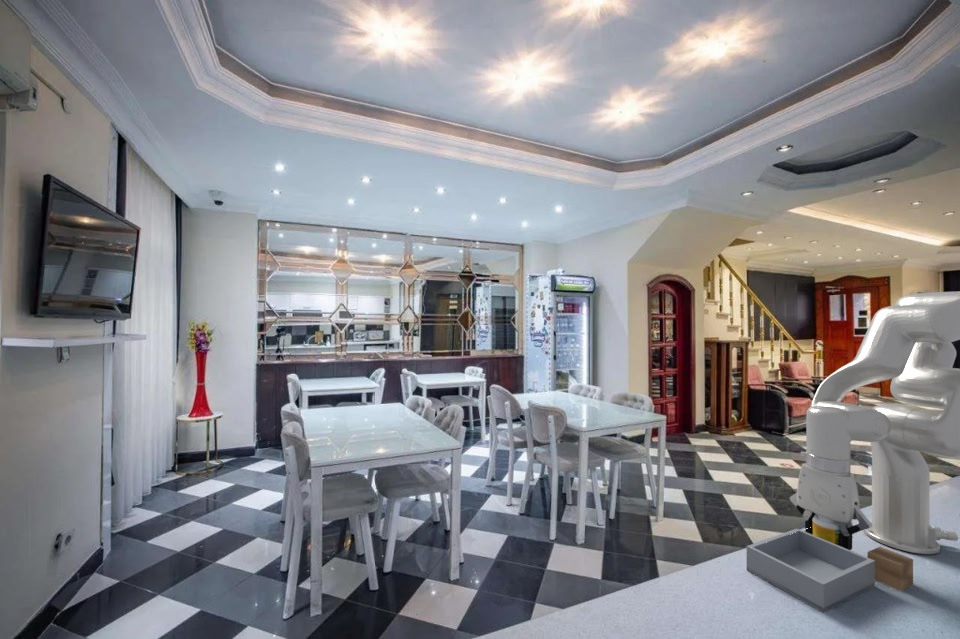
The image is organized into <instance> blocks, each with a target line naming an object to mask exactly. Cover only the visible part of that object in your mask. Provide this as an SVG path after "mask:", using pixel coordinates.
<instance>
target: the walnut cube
mask: <svg viewBox="0 0 960 639" xmlns="http://www.w3.org/2000/svg"><path fill="white" fill-rule="evenodd" d="M866 552H867V556H866V557H867V558H870V559H872V560H875V581H877V582H879V583H881V582H882V583H881V584H883V583H884V585H885V586H888V587H890V588H893V589H895V590H898V591H899V592H902V591H904V590H905V589H908V588H909V587H911V586H913V585H914V559H913V558H911V557H908V556H906V555H903V554H900V553H898V552H895V551H893V550H890V549H888V548H885V547H882V546H877V547H876V548H874V549H872V550H868V551H866Z"/></svg>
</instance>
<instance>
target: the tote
mask: <svg viewBox="0 0 960 639" xmlns="http://www.w3.org/2000/svg"><path fill="white" fill-rule="evenodd" d="M795 532H796V533H795ZM792 533H793V534H792ZM790 534H791V535H790ZM766 542H767V543H766ZM751 547H752V548H751ZM746 571H747V572H749V573H751V574H753V575H754V576H755V577H758V578H760V579H761V580H763V581H766V582H767V583H769V584H771V585H772V586H774V587H776V588H778V589H780V590H781V591H783V592H785V593H787V594H788V595H790V596H793V597H794V598H796V599H798V600H799V601H801V602H803V603H805V604H806V605H809V606H810V607H812V608H814V609H815V610H818V611H819V612H821V613H823V614H824V613H826V612H827V611H829V610H832V609H834V608H836V607H837V606H839V605H841V604H843V603H845V602H847V601H849V600H851V599H853V598H855V597H857V596H859V595H861V594H862V593H864V592H867V591H868V590H871V589H872V588H874V587H876V580H875V560H872V559H870V558H867V556H864V555H862V554H860V553H858V552H855V551H853V550H848V549H846V548H843V547H841V546H838V545H836V544H834V543H831V542H829V541H826V540H824V539H822V538H819V537H817V536H814V535H812V534H809V533H807V532H805V530H802V529H799V528H795V529H791V530H789V531H786V532H783V533H781V534H780V533H779V534H777V535H774V536H772V537H771V536H770V537H769V538H765V539H763V540H760V541H757V542H755V543H751V544H749V545H746Z"/></svg>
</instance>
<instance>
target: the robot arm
mask: <svg viewBox="0 0 960 639" xmlns="http://www.w3.org/2000/svg"><path fill="white" fill-rule="evenodd" d="M862 339H863V340H862V341H861V344H860V346H859V348H858V350H857V353H856V356H855V357H854V358H853V359H852V360H851V361H850V362H848V363H846V364H845V365H843V366H841V367H839V368H838V369H837V370H835V371H834V372H832V373H831V374H830V375H828V376H827V377H826V378H825V379H824V380H822V381H821V383H820V384H819V386H818V387H817V389H816V392H815V394H814V396H813V397H812V401H811V403H810V407H809V408H807V410H806V418H805V421H806V423H805V424H806V431H805V433H806V435H805V436H806V438H805V439H806V447H805V449H806V451H803V450H802V451H800V454H799V455H800V457H801V458H804V459H805V462H804V463H802V464H801V467H800V469H799V474H798V475H799V476H798V482H797V489H796V490H797V491H796V492H795V493H793V494H792V495H791V496H789V500H790V502H791V503H792V505H794V506H795V507H796V509H797V511H798V512H799V513H800V514H801V518H802V519H803V520H804V531H805V532H807V533H809V534H812V535H813V522H812V520H813V517H814V516H815V515H817V514H818V515H821V516H824V517H826V518H829V519H832V520H835V521H838V523H839V526H840V529H841V534H839V546H841V547H843V548H846V549H848V550H851V551H853V535H854V534H857V533H858V532H861V531H863V533H864V534H865V535H866V536H868V537H869V538H871V539H872V540H874V541H876V542H878V543H880V544H882V545H885V546H888V547H890V548H894V549H896V550H900V551H904V552H908V553H914V554H918V555H936V554H938V553H940V551H941V546H940V543H939V542H938V541H941V540H945V541H953V542H957V541H959V536H958V534H957V532H955V531H951V530H950V531H949V530H942V529H941V527H939V526H934V525H933V526H932V525H931V524H930V523H931V522H930V521H931V518H930V516H931V515H930V513H931V512H930V505H931V504H930V503H931V502H930V501H931V499H930V493H931V492H930V490H931V489H930V488H931V487H930V484H931V483H930V481H931V477H930V476H931V472H930V468H929V466H928V463H927V461H926V460H925V458H924V457H923V455H922V453H924V454H927V455H928V454H929V455H933V456H937V457H942V458H946V459H952V460H960V368H956V367H953V366H954V363H955V360H956V358H957V350H956V347H955V346H954V344H953V342H956V341H960V291H958V290H957V291H938V292H937V291H936V292H935V291H933V292H919V293H912V294H911V293H910V294H907V295H904V296H901V297H900V298H898V299H897V300H896V301H895V303H894V305H889V306H885V307H882V308H880V309H878V310H877V312H875V313H874V315H873V317H872V319H871V321H870V323H869V326H868V328H867V331H866V332H865V334H864V337H863V338H862ZM888 380H891V382H890V387H889V388H890V390H889V391H890V394H891V395H892V396H893V398H895V399H897V400H898V401H901V402H903V403H904V404H905V403H906V404H910V405H915V406H920V407H914V406H907V405H903V404H902V405H901V404H894V403H892V404H891V403H885V404H883V403H882V404H878V405H875V406H873V407H867V406H864V405H863V406H862V405H857V404H851V403H847V402H842V401H843V400H844V398H845V397H846V396H847V395H848V394H849V393H851V392H852V391H854V390H856V389H858V388H860V387H864V386H867V385H871V384H875V383H880V382H883V381H888ZM921 407H925V408H933V409H939V410H943V411H939V410H938V411H937V410H931V409H924V408H921ZM852 441H854V442H865V443H870V447H871V450H870V451H871V464H872V465H871V521H870V520H869V519H868V518H867V516H866V515H865V514H864V512H863V511H862V510H861V508H860V497H859V490H858V485H857V481H856V477H855V474H854V473H852V472H851V468H852V467H851V462H852V461H851V460H852V459H851V442H852ZM853 520H855V521H856V520H857V521H858V524H854V523H853ZM810 527H811V528H810ZM806 528H808V529H806ZM805 529H806V530H805Z"/></svg>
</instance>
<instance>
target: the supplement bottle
mask: <svg viewBox="0 0 960 639" xmlns="http://www.w3.org/2000/svg"><path fill="white" fill-rule="evenodd" d="M812 522H813V535H814V536H817V537H819V538H822V539H824V540H826V541H829V542H831V543H834V544H836V545H838V546H839V534H841V529H840V526H839V523H838V521H835V520H832V519H829V518H826V517H824V516H821V515H818V514H816V515H815V516H814V517H813V520H812Z"/></svg>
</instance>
